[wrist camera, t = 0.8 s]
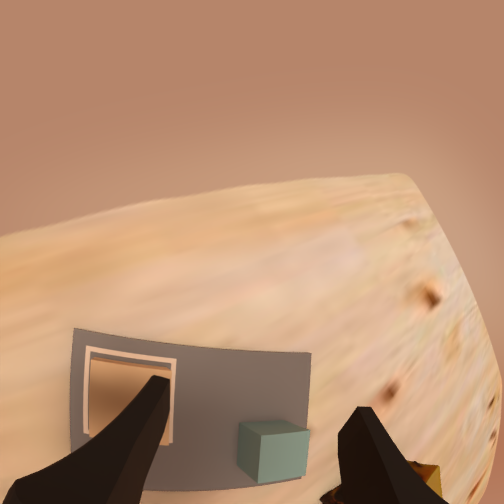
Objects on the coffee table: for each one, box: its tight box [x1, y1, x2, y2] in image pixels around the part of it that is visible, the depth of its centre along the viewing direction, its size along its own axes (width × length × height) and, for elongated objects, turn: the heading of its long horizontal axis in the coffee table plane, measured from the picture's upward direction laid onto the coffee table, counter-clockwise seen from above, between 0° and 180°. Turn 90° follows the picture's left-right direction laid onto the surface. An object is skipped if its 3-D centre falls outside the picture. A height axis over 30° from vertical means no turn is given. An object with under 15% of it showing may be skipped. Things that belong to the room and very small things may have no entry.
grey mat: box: [70, 328, 311, 491], centre depth 23 cm, size 14×22×1 cm, turn 86°
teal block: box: [237, 420, 310, 484], centre depth 22 cm, size 4×4×4 cm
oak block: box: [89, 357, 172, 446], centre depth 19 cm, size 6×6×3 cm
